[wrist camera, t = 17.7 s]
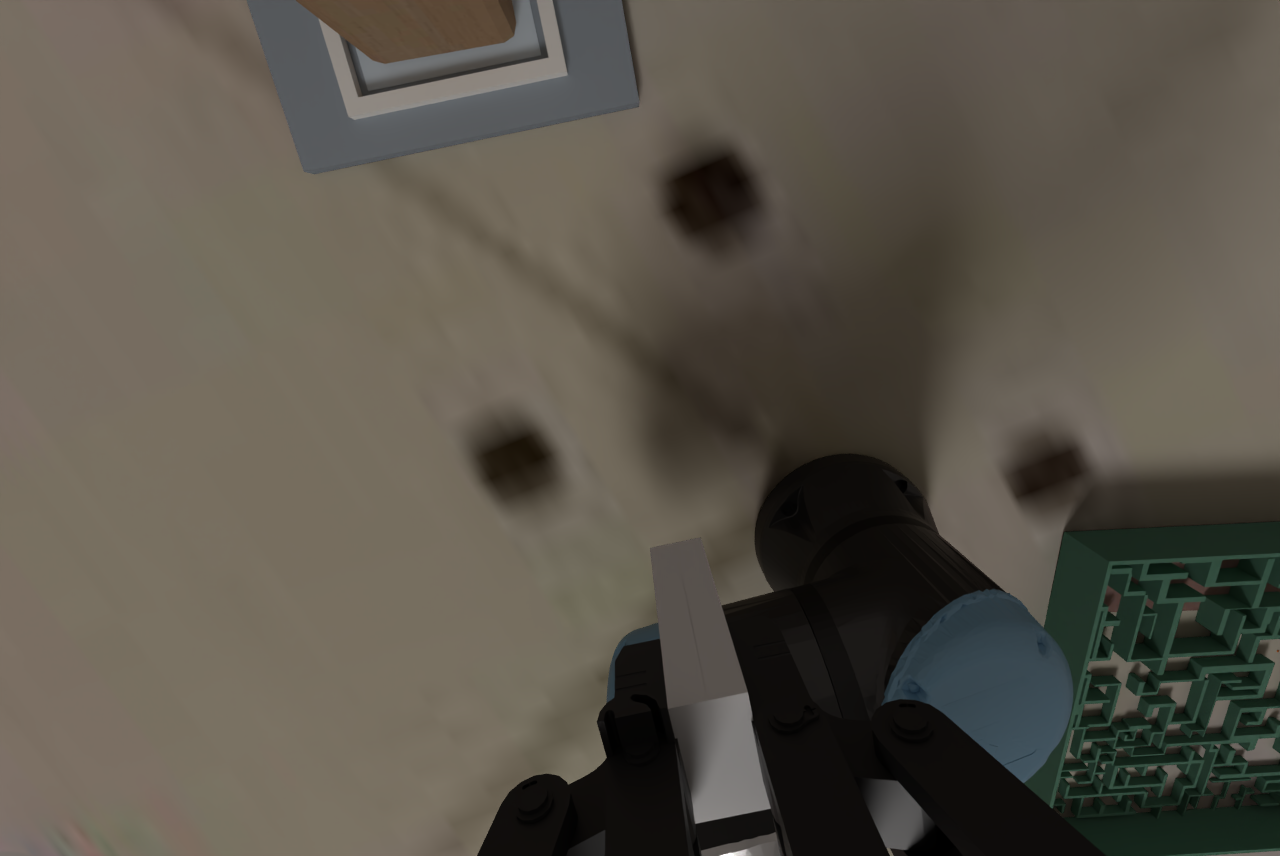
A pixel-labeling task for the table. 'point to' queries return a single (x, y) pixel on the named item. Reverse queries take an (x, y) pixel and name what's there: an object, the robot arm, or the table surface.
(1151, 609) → the maze
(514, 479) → the table surface
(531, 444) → the table surface
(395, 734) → the table surface
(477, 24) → the wooden block
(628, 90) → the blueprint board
